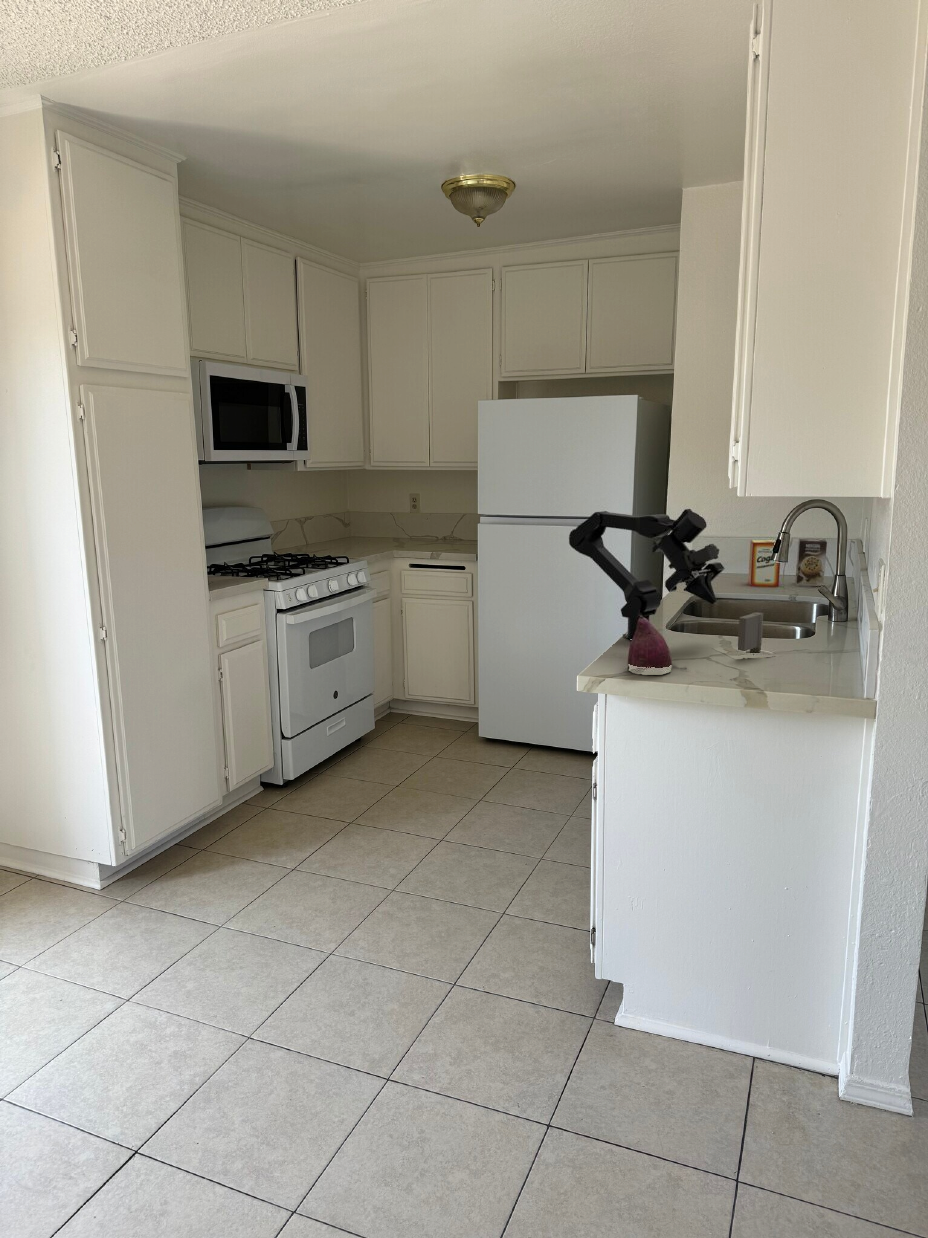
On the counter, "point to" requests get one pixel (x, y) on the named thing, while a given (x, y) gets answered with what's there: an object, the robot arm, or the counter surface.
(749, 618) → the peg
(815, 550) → the cookie box
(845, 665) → the counter surface
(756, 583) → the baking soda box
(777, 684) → the counter surface
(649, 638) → the vegetable
